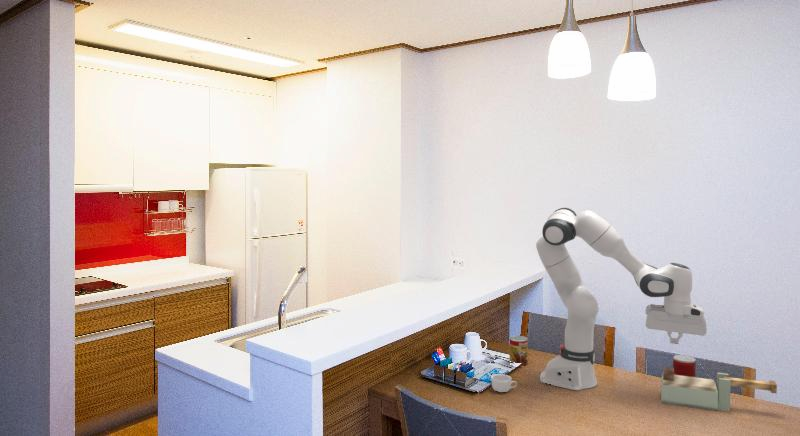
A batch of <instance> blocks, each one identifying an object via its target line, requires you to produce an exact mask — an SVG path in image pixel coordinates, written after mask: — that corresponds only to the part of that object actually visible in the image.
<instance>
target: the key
mask: <svg viewBox="0 0 800 436" xmlns="http://www.w3.org/2000/svg"><path fill="white" fill-rule="evenodd" d="M724 379H731V387H736V388H737V387H739V388H746V389H747V388H748V389H755V390H762V391H769V392H770V393H771V394H776V395H777V391H778V389H777V388H778V384H777V383H776V380H769V381H761V380H754V379H746V378H745V379H744V378H739V377H738V378H737V377H731V376H729V377H724Z"/></svg>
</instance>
